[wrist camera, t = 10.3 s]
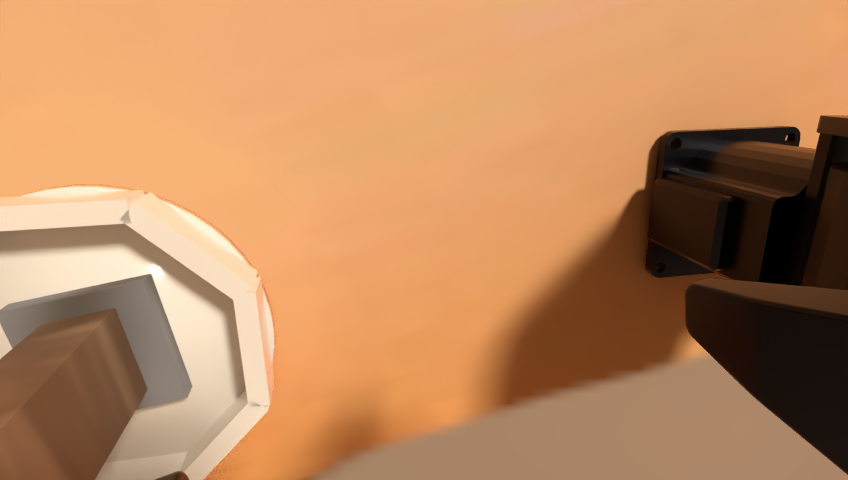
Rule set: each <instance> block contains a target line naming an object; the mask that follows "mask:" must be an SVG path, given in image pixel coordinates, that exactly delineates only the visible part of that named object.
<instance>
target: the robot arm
mask: <svg viewBox="0 0 848 480" xmlns="http://www.w3.org/2000/svg"><path fill="white" fill-rule="evenodd" d="M817 132H818V133H820V136H819V140H818V144H817V148H816V149H812V148H804V147H799V142H800V132H799V130H798V129H797V128H796V127H789V126H776V127H752V128H728V129H704V130H681V131H669V132H667V133H665V134H664V135H663V136H662V138H661V140H660V143H659V152H658V160H657V169H656V178H655V183H654V185H653V193H652V202H651V211H650V219H649V228H648V238H649V239H648V248H647V256H646V270H647V272H648V273H650V274H651V275H653V276H655V277H658V278H662V277H672V276H683V275H694V274H705V273H715V272H716V273H718V274H720V275H722V276H724V277H726V278H728V279H730V280H728V279H717V278H704V279H702V280H699V281H696V282H694V283H691V284H689V285H688V286H687V287H686V289H685V322H686V327H687V329H688V332H689V333H690V335H691V336H692V337H693V338H694V339H695V340H696V341H697V342H698V343H699V344H700V345H701V346H702V347H703V348H704V349H705V350H706V351H707V352H708V353H709V354H710V355H711V356H712V357H713V358H714V359H715V360H716V361H717V362H718V363H719V364H720V365H721V366H722V367H723V368H724V369H725V370H726V371H727V372H729V374H730V375H732V376H733V378H734V379H735V380H737V381H738V382H739V383H740V384H741V385H742V386H743V387H744V388H745V389H746V390H747V391H748V392H749V393H750V394H751V395H752V396H753V397H755V398H756V399H757V400H758V401H759V402H760V403H761V404H763V405H764V406H765V407H766V408H767V409H769V410H770V411H771V412H772V413H773V414H775V415H776V416H777V417H778V418H780V419H781V420H782V421H783V422H784V423H786V424H787V425H788V426H789V427H790V428H792V429H793V430H794V431H795V432H796V433H798V434H799V435H800V436H801V437H802V438H804V439H805V440H806V441H807V442H809V443H810V444H811V445H812V446H813V447H815V448H816V449H817V450H818V451H819V452H821V453H822V454H823V455H824V456H826V457H827V458H828V459H829V460H830V461H832V462H833V463H834V464H835V465H836V466H838V467H839V468H840V469H841V470H843V471H844V472H845V473H846V474H847V475H848V116H827V115H821V116H820V119H819V124H818V128H817ZM787 135H788V138H787V140H786V141H785V138H786V136H787ZM673 139H675V141H676V143H675V146H674V147H673V148H671V141H672V140H673ZM658 263H661V264H660V267H659V268H658V269H656V265H657V264H658ZM155 480H189V478H188V476H187V475H186V474H185V473H184V472H182V471H176V472H174V473H171V474H168V475H165V476H163V477H160V478H157V479H155Z"/></svg>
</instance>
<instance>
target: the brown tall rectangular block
mask: <svg viewBox="0 0 848 480" xmlns="http://www.w3.org/2000/svg"><path fill="white" fill-rule="evenodd" d="M0 324H1V326H2V328H3V330H4V332H5V335H6V337H7V339H8V341H9V343H10V345H11V347H12V350H10V351H9V352H8V353H7V354H6V355H4V356H3V357H2V358H1V359H0V480H95V479H96V477H97V475H98V474H99V472H100V470H101V468H102V467H103V465H104V463H105V462H106V460H107V458H108V457H109V455H110V453H111V451H112V450H113V448H114V446H115V445H116V443H117V441H118V439H119V438H120V436H121V434H122V433H123V431H124V429H125V428H126V426H127V424H128V422H129V421H130V419H131V417H132V416H133V414H134V412H135V410H138V409H143V408H147V407H151V406H155V405H159V404H163V403H167V402H171V401H176V400H180V399H184V398H188V395H189V393H190V391H191V389H192V383H191V381H190V378H189V375H188V373H187V370H186V367H185V364H184V362H183V359H182V356H181V354H180V351H179V348H178V345H177V343H176V340H175V337H174V334H173V332H172V329H171V326H170V324H169V321H168V318H167V315H166V313H165V310H164V307H163V305H162V302H161V299H160V296H159V294H158V291H157V288H156V286H155V283H154V280H153V277H152V275H151V274H146V275H142V276H137V277H132V278H128V279H123V280H118V281H114V282H109V283H104V284H100V285H95V286H90V287H85V288H81V289H76V290H71V291H67V292H62V293H57V294H53V295H48V296H43V297H38V298H34V299H29V300H24V301H20V302H15V303H10V304H8V305H6V306H5V307H3V308H2V309H0Z"/></svg>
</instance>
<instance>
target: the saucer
mask: <svg viewBox="0 0 848 480" xmlns="http://www.w3.org/2000/svg"><path fill="white" fill-rule="evenodd" d="M257 273H258V271H257V270H255V269H254V268H253V267H252V265H251V264H250V263H249V261H248V260H247V258H246V257H245V255H244V254H243V253H242V252H241V251H240V250H239V249H238V248H237V247H236V246H235V244H234V243H233V242H232V241H231V240H230V239H229V238H228V237H226V236H225V235H224V234H223V233H222V232H221V231H219V230H218V229H217V228H216V227H215V226H213V225H212V224H210V223H209V222H207V221H206V220H204V219H203V218H201V217H200V216H198V215H197V214H195V213H194V212H192V211H190V210H188V209H186V208H184V207H182V206H180V205H178V204H176V203H174V202H171V201H169V200H166V199H163V198H160V197H158V196H155V195H154V194H152V193H151V192H150V193H145V192H143V190H133V189H128V188H122V187H114V186H106V185H71V186H62V187H53V188H49V189H45V190H41V191H36V192H32V193H28V194H26V195H23V196H18V197H0V309H2V308H3V307H5V306H6V305H8V304H10V303H15V302H20V301H24V300H29V299H34V298H38V297H43V296H48V295H53V294H57V293H62V292H67V291H71V290H76V289H81V288H85V287H90V286H95V285H100V284H104V283H109V282H114V281H118V280H123V279H128V278H132V277H137V276H142V275H146V274H151V275H152V277H153V280H154V283H155V286H156V288H157V291H158V294H159V296H160V299H161V302H162V305H163V307H164V310H165V313H166V315H167V318H168V321H169V324H170V326H171V329H172V332H173V334H174V337H175V340H176V343H177V345H178V348H179V351H180V354H181V356H182V359H183V362H184V364H185V367H186V370H187V373H188V375H189V378H190V381H191V383H192V389H191V391H190V393H189V395H188V398H184V399H180V400H176V401H171V402H167V403H163V404H159V405H155V406H151V407H147V408H143V409H138V410H135V412H134V414H133V416H132V417H131V419H130V421H129V422H128V424H127V426H126V428H125V429H124V431H123V433H122V434H121V436H120V438H119V439H118V441H117V443H116V445H115V446H114V448H113V450H112V451H111V453H110V455H109V457H108V458H107V460H106V462H105V463H104V465H103V467H102V468H101V470H100V472H99V474H98V475H97V477H96V479H95V480H155V479H157V478H160V477H163V476H165V475H168V474H171V473H174V472H176V471H182V472H184V473H185V474H186V475H187V476H188V478H189V480H203V479H204V478H205V477H206V476H207V475H208V474H209V473H210V472H211V471H212V470H213V469H214V468H215V467H216V466H217V464H218V463H219V462H220V461H221V460H222V459H223V458H224V457H225V456H226V455H227V454H228V453H229V452H230V451H231V450H232V448H233V447H234V446H235V445H236V444H237V443H238V442H239V441H240V440H241V439H242V438H243V437H244V436H245V435H246V434H247V432H248V431H249V430H250V429H251V428H252V427H253V426H254V425H255V424H256V423H257V422H258V421H259V420H260V419H261V418H262V417H263V415H264V414H265V413H266V412H267V411H268V409H269V405H270V403H271V397H272V392H273V386H274V376H273V368H272V364H273V358H274V349H275V325H274V319H273V314H272V309H271V305H270V302H269V299H268V296H267V294H266V291H265V288H264V286H263V284H262V280H261V277H258V275H257ZM10 350H12V347H11V345H10V343H9V341H8V339H7V337H6V335H5V332H4V330H3V328H2V326H1V324H0V359H1V358H2V357H3V356H4V355H6V354H7V353H8V352H9V351H10Z"/></svg>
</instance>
